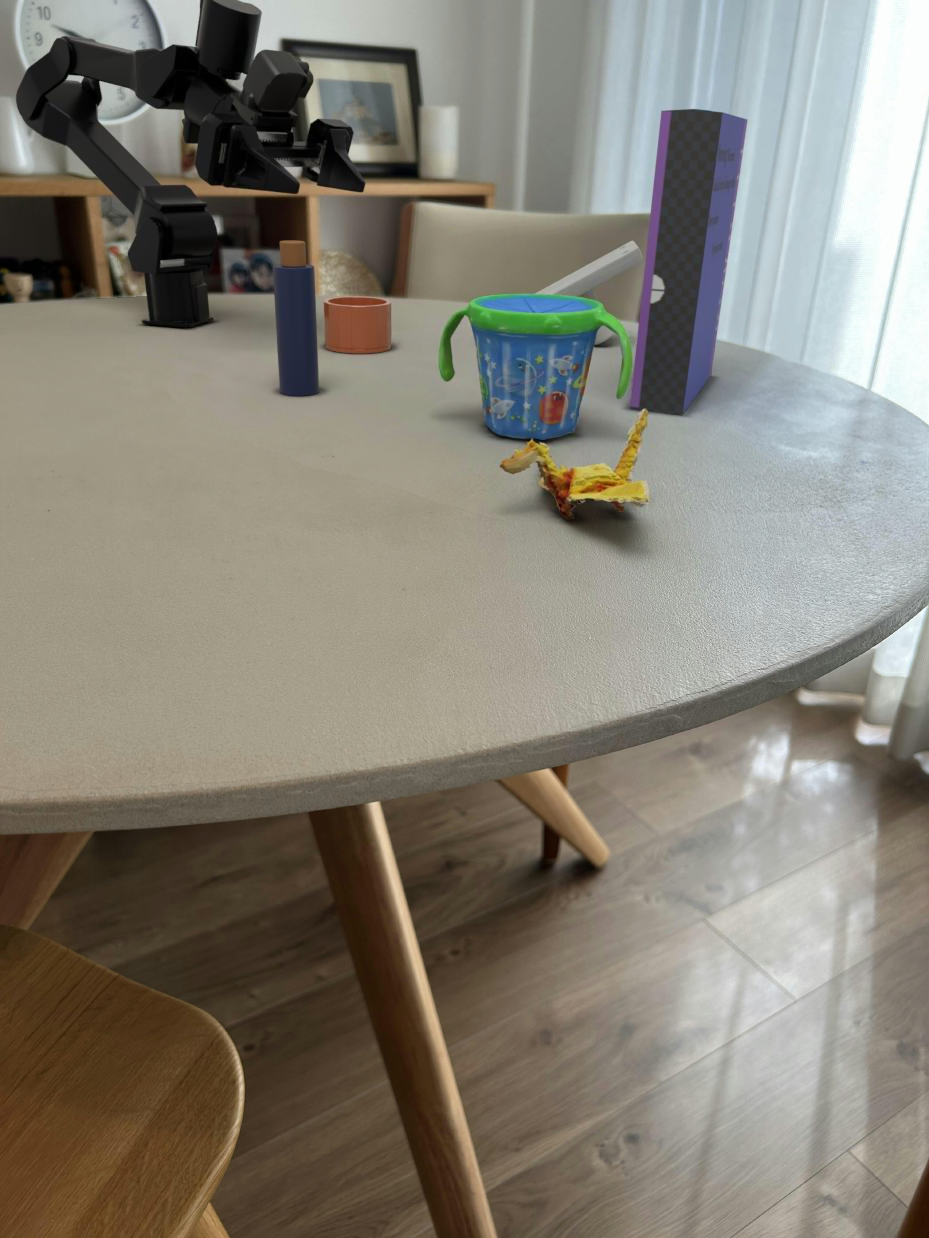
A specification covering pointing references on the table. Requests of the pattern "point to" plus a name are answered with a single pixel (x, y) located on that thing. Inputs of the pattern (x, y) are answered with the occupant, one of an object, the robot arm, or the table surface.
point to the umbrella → (296, 321)
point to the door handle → (597, 278)
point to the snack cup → (534, 359)
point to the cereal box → (686, 256)
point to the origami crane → (587, 474)
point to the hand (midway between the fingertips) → (331, 188)
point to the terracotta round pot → (357, 324)
